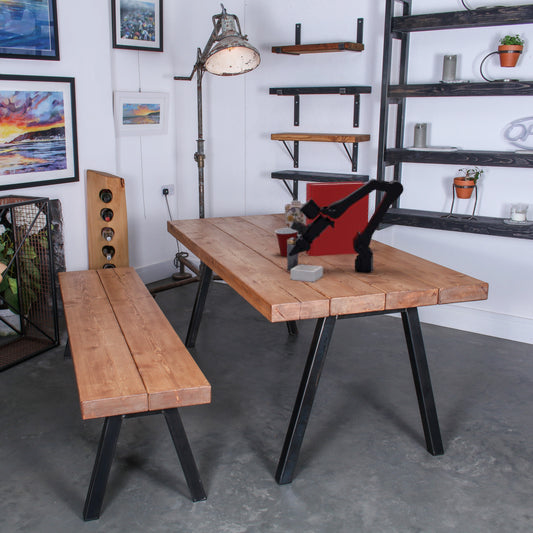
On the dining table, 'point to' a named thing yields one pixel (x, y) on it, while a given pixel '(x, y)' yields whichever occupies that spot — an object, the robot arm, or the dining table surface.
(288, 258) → the battery cell
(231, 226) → the dining table surface
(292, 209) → the decorative jar
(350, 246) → the book
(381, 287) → the dining table surface
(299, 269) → the bin
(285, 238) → the plastic cup
